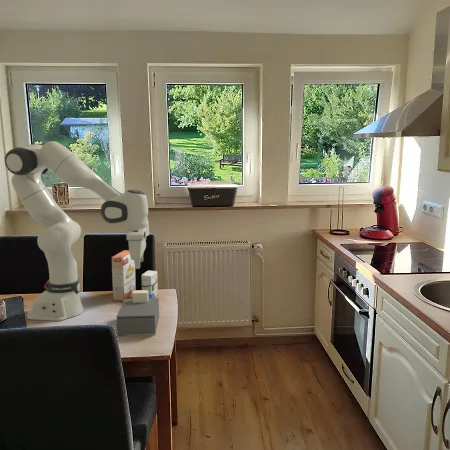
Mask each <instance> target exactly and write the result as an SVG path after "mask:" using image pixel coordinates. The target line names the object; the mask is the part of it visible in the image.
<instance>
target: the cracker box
mask: <svg viewBox="0 0 450 450" xmlns="http://www.w3.org/2000/svg"><path fill="white" fill-rule="evenodd" d="M111 272H112V273H111V275H112V276H111V277H112V298H113V299H112V300H113V301H117V302H118V301H119V302H123V301H124V299H129V298H130V297H131V296H132V293H133V291H137V290H136V268H135V262H134V260H131V257H130V252H129V249H127V250H126V249H124V250H122V251H120V252H119V253H118V252H117V254H115V255H114V256H111Z"/></svg>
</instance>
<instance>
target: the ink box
mask: <svg viewBox="0 0 450 450" xmlns="http://www.w3.org/2000/svg"><path fill="white" fill-rule="evenodd" d="M158 289H159V288H158V271H156V270H147V271H145V272H144V273H142V274H141V291H143V290H148V298H156V296H157V295H159V290H158Z"/></svg>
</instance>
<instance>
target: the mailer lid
mask: <svg viewBox="0 0 450 450" xmlns="http://www.w3.org/2000/svg"><path fill="white" fill-rule="evenodd" d="M131 296H132V298H127V299H124V301H122V304H121V306H120V308H119V310H118V312H117V315H116V319H117V318H132V317H155V313H156V309H157V304H158V300H159V297H154V298H148V290H143V291H142V290H136V291H133V293H132V295H131Z"/></svg>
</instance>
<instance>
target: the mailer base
mask: <svg viewBox="0 0 450 450" xmlns="http://www.w3.org/2000/svg"><path fill="white" fill-rule="evenodd" d="M159 303H160V301H159V300H158V304H157V309H156V313H155V317H132V318H117V317H116V330H117V331H116V333H117V337H128V336H129V337H134V336H135V337H136V336H137V337H138V336H140V337H141V336H156V334H157V328H158V323H159V318H160V304H159Z"/></svg>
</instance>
